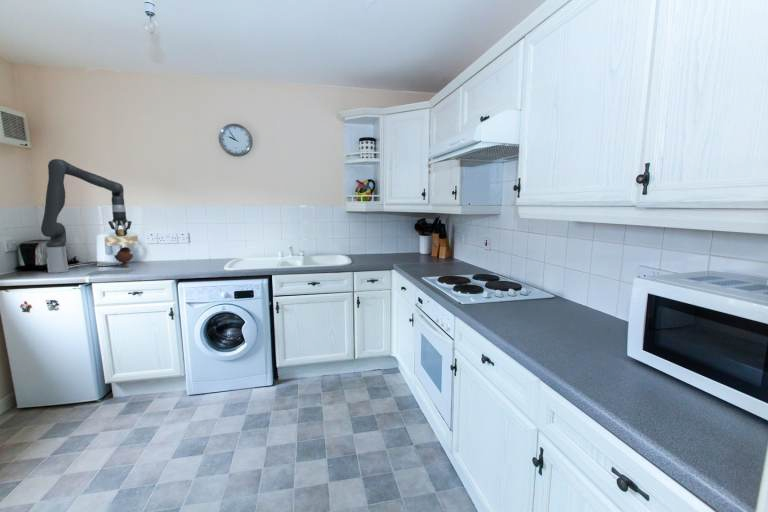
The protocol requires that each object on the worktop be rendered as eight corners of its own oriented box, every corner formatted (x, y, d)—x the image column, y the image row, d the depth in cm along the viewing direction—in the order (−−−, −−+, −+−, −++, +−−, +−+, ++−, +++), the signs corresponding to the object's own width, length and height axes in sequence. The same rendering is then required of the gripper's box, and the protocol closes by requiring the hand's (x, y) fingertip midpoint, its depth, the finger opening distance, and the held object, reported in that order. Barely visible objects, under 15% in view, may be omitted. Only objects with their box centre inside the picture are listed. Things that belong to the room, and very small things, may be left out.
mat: (84, 275, 223) (84, 275, 223) (96, 271, 237) (96, 270, 237) (127, 274, 230) (127, 273, 230) (136, 270, 244) (136, 269, 244)
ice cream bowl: (117, 267, 254) (115, 246, 251) (135, 266, 258) (133, 246, 256) (113, 269, 244) (111, 248, 242) (132, 268, 249) (130, 248, 247)
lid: (105, 245, 240) (103, 230, 238) (115, 243, 253) (113, 228, 252) (130, 245, 244) (128, 229, 242) (138, 243, 257) (136, 228, 256)
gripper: (104, 211, 239) (107, 236, 242) (128, 211, 243) (130, 235, 246) (109, 211, 247) (112, 235, 249) (132, 211, 251) (135, 234, 253)
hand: (121, 235), depth 248 cm, fingers closed on lid, 4 cm apart
